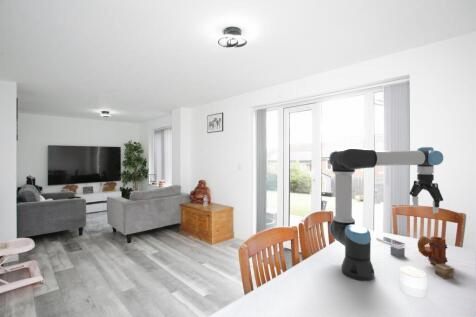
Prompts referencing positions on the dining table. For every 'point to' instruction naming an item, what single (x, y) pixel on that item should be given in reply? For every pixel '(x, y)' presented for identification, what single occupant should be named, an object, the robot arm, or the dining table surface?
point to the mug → (433, 249)
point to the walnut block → (444, 271)
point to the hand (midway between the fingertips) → (425, 210)
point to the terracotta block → (427, 247)
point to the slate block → (397, 251)
